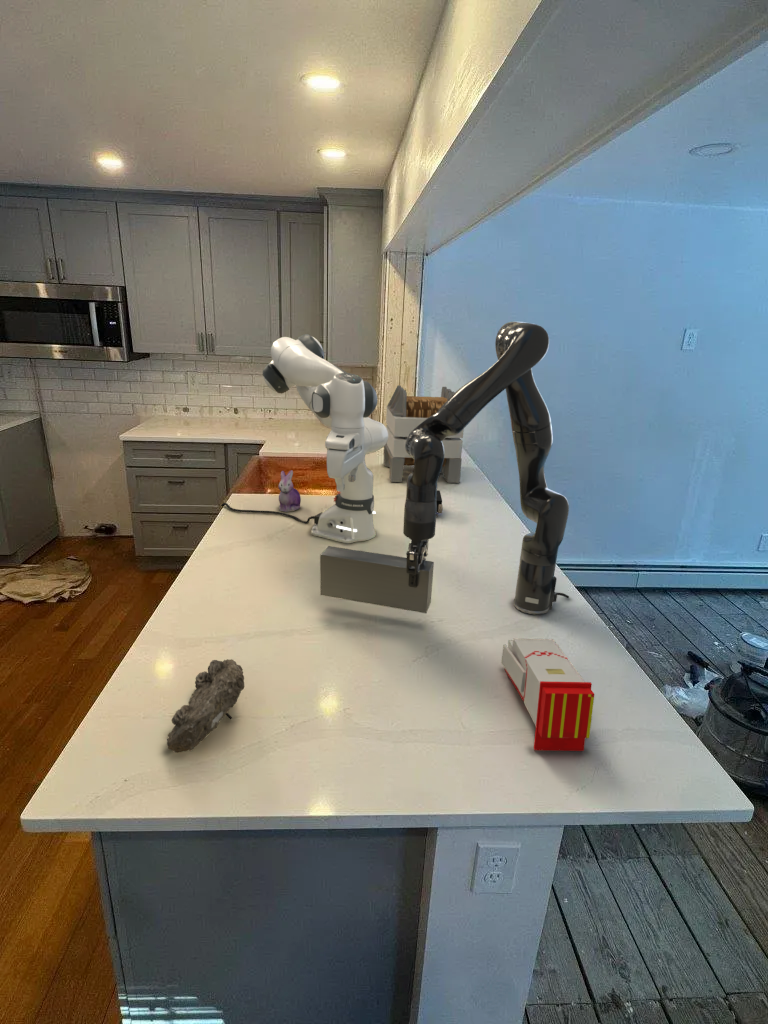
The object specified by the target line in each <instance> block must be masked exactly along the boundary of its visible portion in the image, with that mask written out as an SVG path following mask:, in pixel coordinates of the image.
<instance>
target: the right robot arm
mask: <svg viewBox="0 0 768 1024" xmlns="http://www.w3.org/2000/svg"><path fill="white" fill-rule="evenodd" d="M548 333H549V332H547V330H546V329H545V328H544V327H543V326H542V325H539V324H536V323H532V322H524V321H514V320H513V321H507V322H506V323H504V324H503V325H502V326H500V328H499V330H498V331H497V333H496V337H495V342H494V344H495V354H496V357H497V361H496V362H494V363H493V364H492V365H491V366H490V367H489V368H487V369H486V370H485V371H484V372H482V373H480V374H479V375H478V376H475V378H473V379H471V380H470V381H468V382H466V383H465V384H463V385H462V386H461V387H460V388H459V389H457V390H456V391H454V392H455V393H454V394H453V395H452V396H451V397H450V398H449V399H448V400H447V401H446V402H445V403H444V405H443V406H442V407H441V408H440V409H439V410H438V411H437V412H436V413H435V414H433V415H432V416H430V417H429V418H427V419H426V420H425V421H423V422H422V423H421V424H419V425H418V426H417V427H416V428H414V429H413V430H412V432H411V433H410V434H409V435H408V437H407V439H406V442H405V450H406V452H407V454H408V455H409V456H410V457H411V458H413V459H414V466H413V468H412V469H413V470H412V472H411V473H409V474H408V476H407V479H406V480H407V481H406V492H405V495H406V496H405V501H404V512H403V530H402V531H403V533H402V534H403V535H404V536H405V537H406V538H408V539H410V540H411V541H410V542H408V548H407V551H406V558H407V570H406V573H409V584H408V585H409V586H410V587H415V588H416V587H417V586H418V578H419V572H420V571H419V569H420V564H422V563H423V560H425V561H427V557H428V555H429V554H428V552H429V551H428V550H429V541H430V539H433V538H434V537H435V536H436V527H437V526H436V525H437V517H436V513H438V512H437V504H436V498H437V490H438V481H439V478H440V475H441V469H442V465H443V461H444V445H443V443H442V441H443V440H444V439H445V438H446V437H448V436H452V435H457V434H459V433H460V432H461V431H462V430H463V429H464V430H465V428H466V427H467V426H468V425H469V424H470V423H471V422H472V421H473V420H474V418H476V416H477V415H479V413H480V412H481V411H482V410H483V409H484V408H485V407H486V406H487V405H489V404H490V403H491V402H492V401H493V400H494V399H495V398H496V397H498V396H499V395H500V394H501V393H502V392H503V391H505V394H506V400H507V406H508V412H509V419H510V427H511V432H512V438H513V439H512V440H513V444H514V445H513V446H514V451H515V455H516V463H517V469H518V470H517V471H518V478H519V479H518V480H519V498H520V499H519V500H520V501H519V502H520V508H521V511H522V514H523V515H524V516H525V517H526V518H527V519H528V520H530V521H532V522H534V523H536V527H535V532H529V533H526V534H525V535H524V536H523V538H522V542H521V550H520V555H519V556H520V557H519V564H518V573H517V578H516V587H515V593H514V599H513V607H514V608H515V609H516V610H518V611H519V612H521V613H525V614H528V615H534V616H537V615H538V616H540V615H544V614H547V613H548V612H549V611H550V610H552V609H553V604H554V603H556V602H557V600H558V596H561V597H564V598H566V599H569V598H570V596H569V595H568V594H566V593H563V592H556V591H555V590H556V585H557V576H555V572H556V566H557V559H558V554H559V553H558V552H559V547H560V545H561V543H562V542H563V540H564V538H565V537H564V536H565V531H566V527H567V523H568V518H569V513H570V505H569V504H570V503H569V500H568V499H567V497H566V496H565V495H563V494H561V493H559V492H558V491H555V490H552V489H550V488H549V487H548V484H547V481H546V474H545V473H546V472H545V465H546V461H547V459H548V457H549V455H550V452H551V450H552V447H553V442H554V435H553V427H552V426H553V425H552V418H551V414H550V412H549V409H548V406H547V404H546V402H545V400H544V398H543V396H542V394H541V392H540V391H539V388H538V387H537V384H536V381H535V377H534V375H533V368H534V367H535V366H536V365H538V364H539V363H540V362H541V361H542V360H543V359H544V357H545V356H546V354H547V353H548V351H549V347H550V337H549V334H548ZM418 559H419V560H418ZM412 566H414V567H415V568H412Z"/></svg>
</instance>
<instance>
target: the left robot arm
mask: <svg viewBox="0 0 768 1024" xmlns="http://www.w3.org/2000/svg"><path fill="white" fill-rule="evenodd" d="M270 358H271V361H270V362H269V363H267V364H266V365H265V366H264V368H263V370H262V377H263V380H264V383H265V384H266V386H267V387H268V388H269V389H270V390H272V391H273V392H275V393H277V394H281V395H282V394H284V393H287V392H288V391H290V389H291V388H293V387H294V386H295V388H296V391H297V393H298V395H299V397H300V398H301V400H302V401H303V403H304V404H305V405H306V407H307V408H308V410H310V412H311V413H312V414H313V415H314V416H315V417H316V419H317V420H318V421H319V422H320V423H321V424H322V425H323V426H324V427H325V428H327V429H330V431H329V433H328V434H327V436H326V438H325V441H324V447H325V449H326V473H327V476H328V478H329V479H334V482H335V485H336V492H337V494H336V495H335V496H334V497H333V502H334V504H333V505H331V506H329V507H328V508H326V509H325V510H323V512H322V511H320V512H319V513H317V514H315V515H312V516H309V517H308V518H307V519H306V520H302V519H300V518H299V517H297V516H296V515H292V514H290V513H287V512H283V511H276V510H256V509H255V510H254V509H238V508H234V507H232V506H231V505H229V503H227V502H223V503H222V504H221V507H225V506H226V507H227V508H228V510H229V511H232V512H238V513H254V514H273V515H274V514H275V515H280V516H285V517H288V518H291V519H294V520H295V521H297V522H300V523H302V524H305V525H306V524H309V523H310V522H311V520H313V523H314V525H313V526H312V528H311V530H310V533H311V536H315V537H319V538H323V539H326V540H330V541H336V542H339V543H343V544H352V543H357V542H365V541H368V540H372V539H373V538H375V537H376V535H377V532H376V528H375V523H374V515H375V514H376V511H375V510H374V509H375V496H374V473H373V471H372V470H371V469H369V468H368V467H367V464H366V463H367V462H366V456H367V455H370V454H374V453H376V452H378V451H380V450H381V449H383V448H384V446H385V445H386V443H387V441H388V431H387V429H386V425H385V424H384V423H382V422H380V421H378V420H375V419H372V418H371V417H370V416H371V415H372V414H373V412H374V411H375V410H376V408H377V405H378V394H377V390H376V389H375V388H374V387H373V385H372V384H371V383H370V382H368V381H367V380H363V378H362V377H361V376H360V375H358V374H355V373H350V372H348V371H346V370H344V369H342V367H340V366H338V365H336V364H334V363H332V362H330V361H329V360H326V359H325V352H324V349H323V346H322V344H321V342H320V341H319V340H318V339H317V338H316V337H314V336H312V335H311V334H309V333H304V334H302V335H300V336H298V337H297V339H295V338H292V337H288V336H282V337H279V338H277V339H276V340H275V341H273V343H272V345H271V348H270Z"/></svg>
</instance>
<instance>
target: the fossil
mask: <svg viewBox="0 0 768 1024" xmlns="http://www.w3.org/2000/svg"><path fill="white" fill-rule="evenodd" d="M243 670H244V669H243V667H242V665H240V664H237V662H236V661H235V660H234V659H232V658H231V659H227V658H226V659H224V660H223V661H222V660H217V659H212V660H211V661H210V663H209V665H208V666H207V671H201V672H199V673H198V674H197V675H196V676H195V680H194V684H195V685H194V687H195V689H194V690H193V693H192V694H191V697H190V698H189V700H188V704H184V705H182V706H181V707H180V709H177V710H176V711H175V713H174V715H173V716H172V718H171V723H172V724H173V727H172V730H171V731H170V732H168V734H167V738H166V741H167V742H166V745H167V749H168V750H169V751H173V752H174V753H176V754H178V753H182V752H188V751H189V752H192V751H193V750H195V748H196V747H197V746H199V744H200V743H201V742H203V741H204V740H205V739H206V738H207V737H208V736H209V735H210V734H211V733H212V732H214V730H215V729H217V727H218V726H219V724H220V722H221V721H222V720H223V719H224V718H225V716H226V717H227V719H229V720H233V717H232V715H230V714H229V710H230V709H231V708H234V706H235V704H236V703H237V702H238V699H239V697H240V695H241V693H242V691H243V690H245V689H244V688H245V675H244V671H243Z"/></svg>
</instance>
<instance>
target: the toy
mask: <svg viewBox="0 0 768 1024" xmlns="http://www.w3.org/2000/svg"><path fill="white" fill-rule="evenodd" d="M500 661H501V662H500V663H501V664H502V666H503V668H504V671H505V673H506V674H507V676H508V678H509V679H510V681H511V684H512V685H513V686H514V688H515V691H517V693H518V695H519V696H520V699H521V700H522V702H523V704H524V706H525V708H526V711H527V712H528V714H529V716H530V718H531V720H532V723H533V724H534V726H535V731H534V741H533V750H534V751H554V752H555V751H556V752H557V751H558V752H564V751H565V752H584V751H585V743H586V739H590V737H591V736H590V735H591V727H592V718H593V710H594V702H595V692H593V690H592V685H593V684H592V682H590V681H585V679H584V678H583V676H582V675H581V674H580V673H579V672H578V670H577V669H576V668H575V666H574V665H573V663H572V662H571V661H570V659H569V658H568V657H567V655H566V654H565V653H564V651H563V650H562V649H561V648H560V646H559V644H558V643H557V642H556V640H554V638H517V637H515V638H512V639H508V643H507V644H503V647H502V653H501V660H500Z"/></svg>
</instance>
